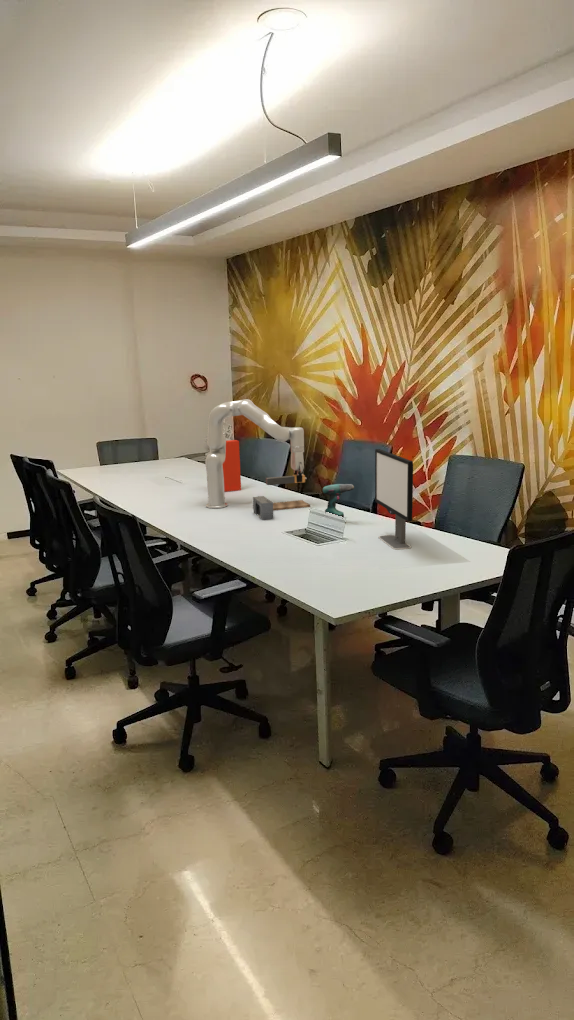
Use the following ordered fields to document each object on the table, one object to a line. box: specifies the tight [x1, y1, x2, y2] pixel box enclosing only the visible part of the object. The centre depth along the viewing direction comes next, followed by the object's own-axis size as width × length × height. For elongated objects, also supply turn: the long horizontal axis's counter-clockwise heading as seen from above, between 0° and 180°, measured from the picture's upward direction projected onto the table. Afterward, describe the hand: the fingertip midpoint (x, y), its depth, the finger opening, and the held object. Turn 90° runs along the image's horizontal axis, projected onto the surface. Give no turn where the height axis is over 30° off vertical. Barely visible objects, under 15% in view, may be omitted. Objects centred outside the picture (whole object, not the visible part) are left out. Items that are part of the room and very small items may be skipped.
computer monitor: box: [374, 448, 414, 551], centre depth 290 cm, size 41×8×40 cm, turn 12°
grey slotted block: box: [252, 495, 274, 521], centre depth 351 cm, size 6×18×9 cm, turn 18°
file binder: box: [223, 439, 242, 493], centre depth 419 cm, size 8×17×32 cm, turn 111°
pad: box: [273, 499, 311, 512], centre depth 372 cm, size 26×14×1 cm, turn 108°
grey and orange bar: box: [265, 473, 307, 486], centre depth 369 cm, size 23×4×4 cm, turn 108°
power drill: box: [322, 483, 355, 518], centre depth 332 cm, size 7×16×20 cm, turn 70°
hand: (298, 481), depth 372 cm, fingers closed on grey and orange bar, 4 cm apart
